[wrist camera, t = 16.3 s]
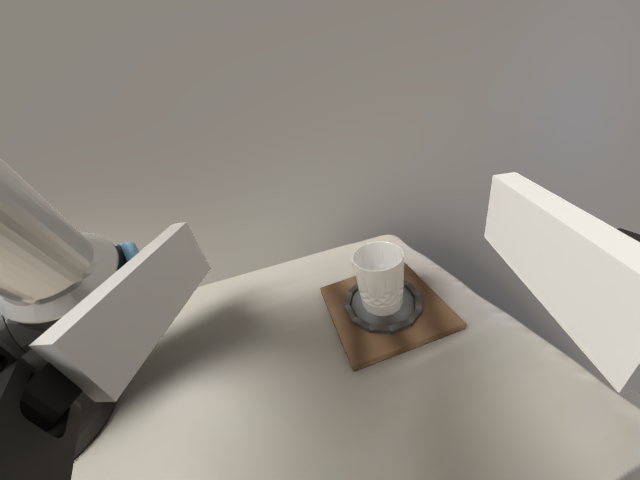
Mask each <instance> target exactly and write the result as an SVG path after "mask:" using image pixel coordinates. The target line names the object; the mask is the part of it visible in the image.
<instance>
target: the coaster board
mask: <svg viewBox="0 0 640 480" xmlns="http://www.w3.org/2000/svg"><path fill="white" fill-rule="evenodd" d="M320 289H321V293H322V295H323V298H324V300H325V303H326V305H327V308H328V310H329V313H330V315H331V317H332V320H333V322H334V325H335V327H336V330H337V332H338V335H339V337H340V339H341V342H342V344H343V347H344V349H345V352H346V354H347V357H348V359H349V361H350V364H351V366H352V369H353V371H356V370H359V369H362V368H364V367H367V366H369V365H372V364H375V363H377V362H380V361H382V360H385V359H388V358H390V357H393V356H396V355H398V354H401V353H403V352H406V351H409V350H411V349H414V348H417V347H419V346H422V345H424V344H427V343H430V342H432V341H435V340H437V339H440V338H443V337H445V336H448V335H451V334H453V333H456V332H458V331H461V330H464V329H465V325H466V323H465V322H464V321H463V320H462V319H461V318H460V317H459V316H458V315H457V314H456V313H455V312H454V311H453V310H452V309H451V308H450V307H449V306H448V305H447V304H446V303H445V302H444V301H443V300H442V299H441V298H440V297H439V296H438V295H437V294H436V293H435V292H434V291H433V290H432V289H431V288H430V287H429V286H428V285H427V284H426V283H424V282H423V281H422V280H421V279H420V278H419V277H418V276H417V275H416V274H415V273H414V272H413V271H412V270H411V269H410V268H409V267H408V266H407V265H406V264H405V263H404V289H403V304H402V306H401V308H400V310H399V311H397V312H396V313H394V314H393V315H389V316H375V315H373V314H371V313H369V312H367V310H366V309H365V308H364V306H363V303H362V299H361V295H360V292H359V289H358V285H357V281H356V276H355V277H352V278H349V279H346V280H343V281H340V282H337V283H334V284H331V285H328V286H325V287H322V288H320Z"/></svg>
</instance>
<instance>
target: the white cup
mask: <svg viewBox="0 0 640 480" xmlns="http://www.w3.org/2000/svg"><path fill="white" fill-rule="evenodd" d="M352 263H353V267H354V272H355V276H356V281H357V285H358V289H359V292H360V295H361V299H362V303H363V306H364V308H365V309H366V310H367V312H369V313H371V314H373V315H375V316H389V315H393V314H394V313H396V312H397V311H399V310H400V308H401V306H402V304H403V289H404V252H403V250H402V248H401V247H399V246H398V245H396V244H394V243H391V242H386V241H374V242H369V243H366V244H363V245H361V246H360V247H358V248H357V249H356V250H355V251H354V252H353V254H352Z"/></svg>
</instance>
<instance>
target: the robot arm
mask: <svg viewBox="0 0 640 480" xmlns="http://www.w3.org/2000/svg"><path fill="white" fill-rule="evenodd" d="M484 237H485V238H486V239H487V240H488V242H489V243H490V244H491V245H492V246H493V247H494V249H495V250H496V251H497V252H498V253H499V254H500V256H501V257H502V258H503V259H504V260H505V262H506V263H507V264H508V265H509V266H510V267H511V268H512V270H513V271H514V272H515V273H516V274H517V275H518V277H519V278H520V279H521V280H522V281H523V282H524V284H525V285H526V286H527V287H528V288H529V289H530V291H532V293H533V294H534V295H535V296H536V298H537V299H538V300H539V301H540V302H541V303H542V304H543V306H544V307H545V308H546V309H547V310H548V311H549V313H550V314H551V315H552V316H553V317H554V318H555V319H556V321H557V322H558V323H559V324H560V325H561V327H562V328H563V329H564V330H565V331H566V332H567V334H568V335H569V336H570V337H571V338H572V339H573V341H574V342H575V343H576V344H577V345H578V346H579V348H580V349H581V350H582V351H583V352H584V353H585V354H586V356H587V357H588V358H589V359H590V360H591V361H592V363H593V364H594V365H595V366H596V367H597V368H598V370H599V371H600V372H601V373H602V374H603V375H604V377H605V378H606V379H607V380H608V381H609V382H610V384H611V385H612V386H613V387H614V388H615V389H616V390H617V392H618V393H640V235H639V234H636V233H633V232H630V231H627V230H624V229H621V228H620V229H615V228H613V227H612V226H610V225H608V224H606V223H604V222H603V221H601V220H599V219H597V218H596V217H594V216H592V215H590V214H589V213H587V212H585V211H583V210H581V209H580V208H578V207H576V206H574V205H573V204H571V203H569V202H567V201H566V200H564V199H562V198H560V197H558V196H557V195H555V194H553V193H551V192H550V191H548V190H546V189H544V188H542V187H540V186H539V185H537V184H535V183H534V182H532V181H530V180H528V179H527V178H525V177H523V176H521V175H520V174H518V173H516V172H513V173H506V174H500V175H493V180H492V186H491V193H490V200H489V208H488V215H487V221H486V228H485V236H484ZM209 270H210V266H209V264H208V262H207V261H206V258H205V256H204V254H203V252H202V250H201V248H200V247H199V245H198V243H197V241H196V239H195V237H194V235H193V233H192V231H191V229H190V227H189V225H188V223H187V222H184V223H176V224H172V225H171V226H170V227H168V228H167V229H166V230H165V231H164V232H163V233H161V234H160V235H159V236H158V237H157V238H155V239H154V240H153V241H152V242H151V243H150V244H148V245H147V246H146V247H145V248H144V249H142V250H141V251H140V252H139V250H138V248H137V247H136V245H135V244H134V243H132V242H126V243H118V244H117V246H115V245H114V244H113V243H112V242H111V241H109V240H108V239H107V238H105V237H103V236H101V235H98V234H95V233H89V232H79V231H78V230H77V229H76V228H75V227H74V226H73V225H72V224H71V223H70V222H69V221H68V220H67V219H65V218H64V217H63V216H62V215H61V214H60V213H59V212H58V211H57V210H56V209H55V208H54V207H53V206H52V205H50V204H49V203H48V202H47V201H46V200H45V199H44V198H43V197H42V196H41V195H39V194H38V192H36V191H35V190H34V189H33V188H32V187H31V186H30V185H29V184H28V183H27V182H26V181H24V179H22V178H21V177H20V176H19V175H18V174H17V173H16V172H15V171H14V170H13V169H12V168H11V167H10V166H9V165H7V164H6V163H5V162H4V161H3V160H2V159H1V158H0V480H71V475H72V469H73V462H74V458H76V457H77V456H78V455H79V454H80V453H81V452H82V451H83V450H84V449H85V448H86V447H87V446H88V444H89V443H90V442H91V441H92V440H93V439H94V438H95V436H96V435H97V434H98V432H99V431H100V430H101V428H102V427H103V426H104V424H105V423H106V421H107V419H108V418H109V416H110V414H111V412H112V410H113V408H114V405H115V402H116V401H117V399H118V398H119V397H120V395H121V394H122V392H123V391H124V390H125V388H126V387H127V385H128V384H129V383H130V381H131V380H132V378H133V377H134V376H135V374H136V373H137V371H138V370H139V369H140V367H141V366H142V364H143V363H144V361H145V360H146V359H147V357H148V356H149V354H150V353H151V352H152V350H153V349H154V347H155V346H156V345H157V343H158V342H159V340H160V339H161V338H162V336H163V335H164V333H165V332H166V331H167V329H168V328H169V326H170V325H171V323H172V322H173V321H174V319H175V318H176V316H177V315H178V314H179V312H180V311H181V309H182V308H183V307H184V305H185V304H186V302H187V301H188V300H189V298H190V297H191V295H192V294H193V292H194V291H195V290H196V288H197V287H198V285H199V284H200V282H201V281H202V280H203V278H204V277H205V276H206V274H207V273H208V271H209Z"/></svg>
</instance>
